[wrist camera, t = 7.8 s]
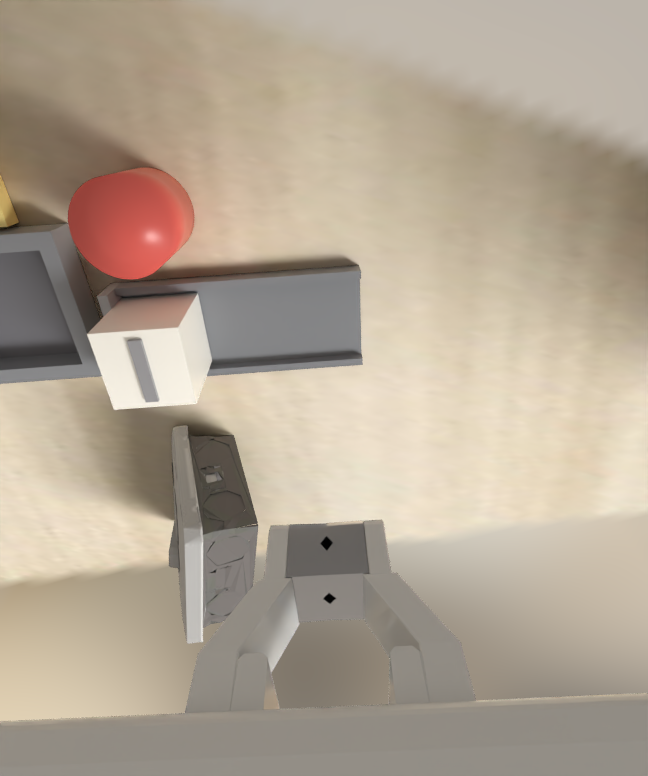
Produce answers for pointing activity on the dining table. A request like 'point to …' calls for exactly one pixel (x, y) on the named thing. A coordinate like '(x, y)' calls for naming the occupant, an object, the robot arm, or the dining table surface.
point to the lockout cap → (130, 221)
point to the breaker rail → (268, 316)
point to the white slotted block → (152, 351)
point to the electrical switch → (210, 529)
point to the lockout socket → (42, 303)
